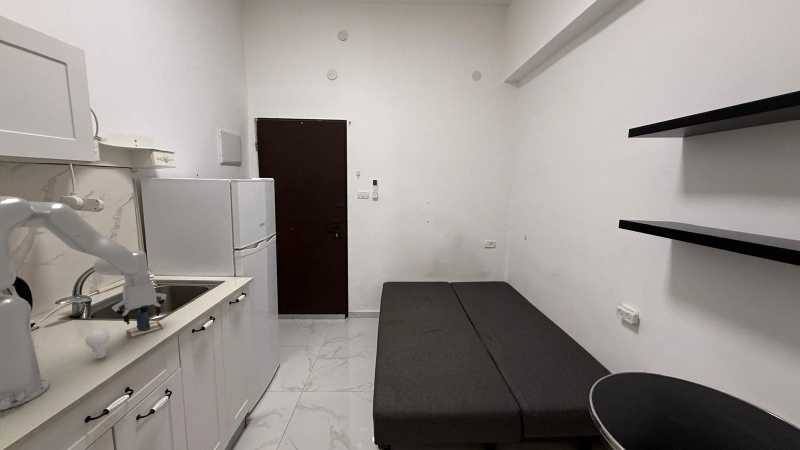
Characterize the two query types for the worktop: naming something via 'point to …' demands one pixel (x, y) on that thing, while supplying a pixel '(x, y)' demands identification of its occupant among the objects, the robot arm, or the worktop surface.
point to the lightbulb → (98, 342)
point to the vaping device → (143, 319)
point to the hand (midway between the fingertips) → (143, 319)
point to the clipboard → (135, 332)
